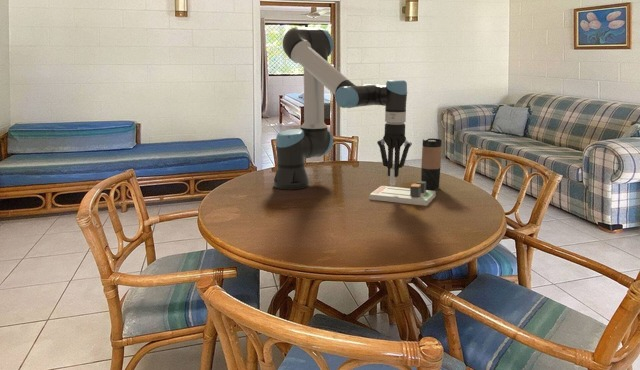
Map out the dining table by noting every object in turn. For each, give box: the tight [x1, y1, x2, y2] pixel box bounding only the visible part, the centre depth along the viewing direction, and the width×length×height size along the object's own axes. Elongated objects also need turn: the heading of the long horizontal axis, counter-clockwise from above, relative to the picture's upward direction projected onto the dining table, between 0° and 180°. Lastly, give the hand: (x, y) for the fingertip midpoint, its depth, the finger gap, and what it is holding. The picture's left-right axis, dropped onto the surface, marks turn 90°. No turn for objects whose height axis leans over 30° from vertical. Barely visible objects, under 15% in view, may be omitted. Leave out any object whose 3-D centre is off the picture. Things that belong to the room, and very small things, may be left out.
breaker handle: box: [409, 183, 421, 197], centre depth 181 cm, size 3×4×4 cm
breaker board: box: [369, 180, 437, 207], centre depth 187 cm, size 22×14×6 cm, turn 64°
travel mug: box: [420, 137, 442, 191], centre depth 199 cm, size 8×8×20 cm
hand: (392, 184), depth 185 cm, fingers closed
